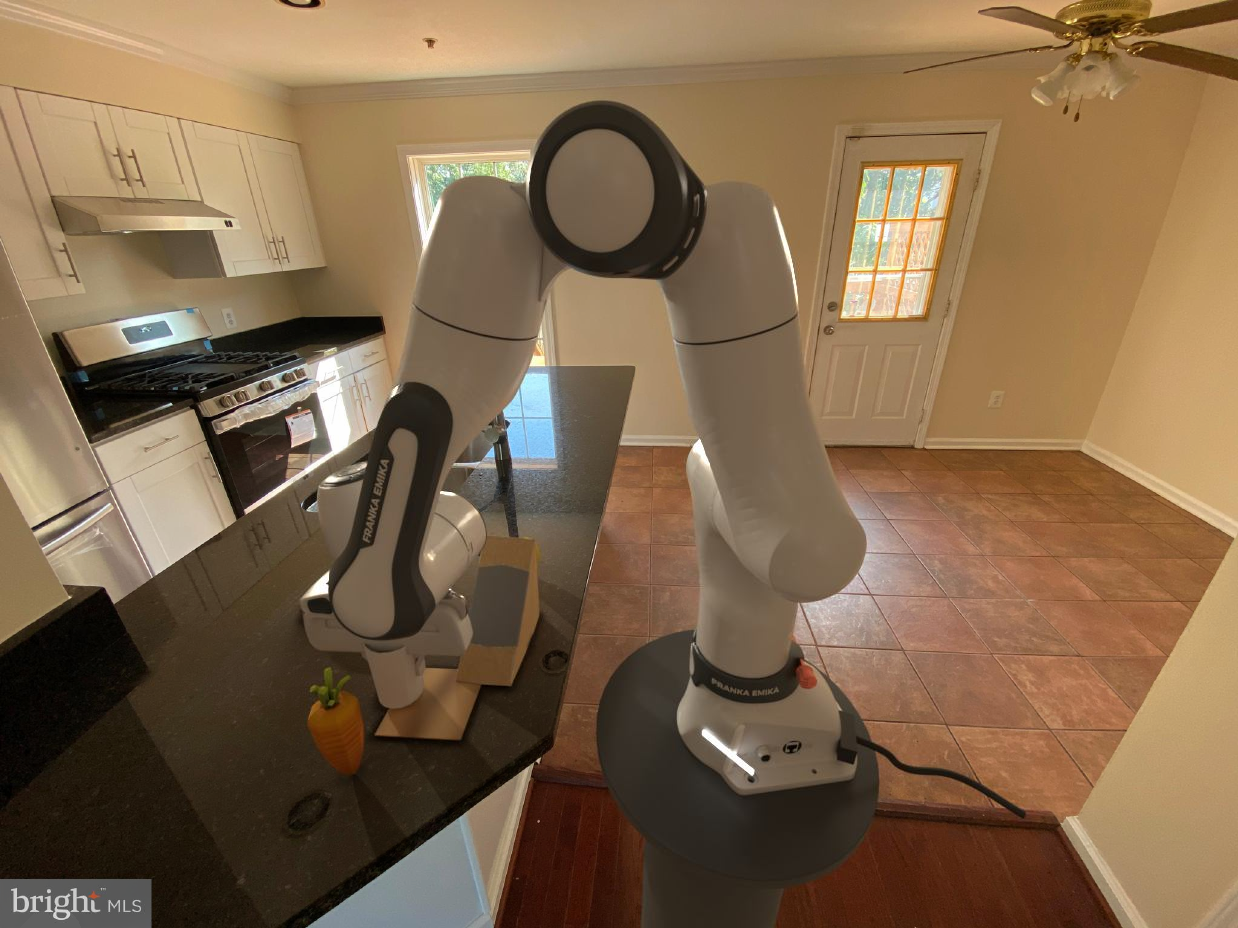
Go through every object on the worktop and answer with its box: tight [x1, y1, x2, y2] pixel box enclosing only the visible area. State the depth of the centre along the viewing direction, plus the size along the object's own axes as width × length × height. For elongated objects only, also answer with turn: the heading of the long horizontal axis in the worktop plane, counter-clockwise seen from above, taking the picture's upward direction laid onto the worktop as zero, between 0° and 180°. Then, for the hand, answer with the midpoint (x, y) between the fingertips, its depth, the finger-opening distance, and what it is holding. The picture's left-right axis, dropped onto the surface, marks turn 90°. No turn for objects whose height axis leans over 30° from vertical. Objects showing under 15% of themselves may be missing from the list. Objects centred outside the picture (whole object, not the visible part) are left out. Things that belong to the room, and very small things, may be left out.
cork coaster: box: [374, 667, 483, 741], centre depth 67 cm, size 11×11×1 cm
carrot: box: [307, 666, 365, 777], centre depth 55 cm, size 5×5×15 cm
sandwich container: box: [456, 534, 540, 687], centre depth 74 cm, size 9×15×15 cm, turn 173°
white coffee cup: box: [363, 643, 424, 709], centre depth 66 cm, size 7×7×10 cm
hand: (401, 671), depth 67 cm, fingers closed on white coffee cup, 3 cm apart
